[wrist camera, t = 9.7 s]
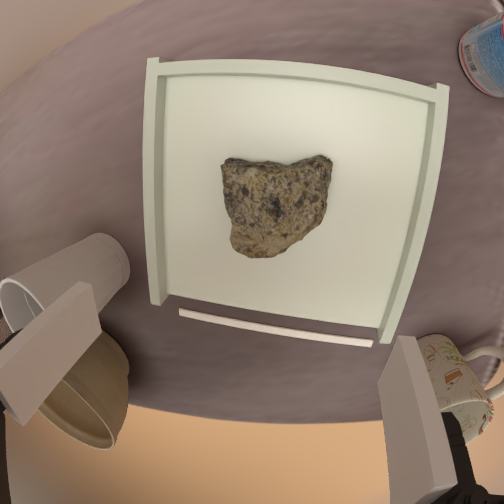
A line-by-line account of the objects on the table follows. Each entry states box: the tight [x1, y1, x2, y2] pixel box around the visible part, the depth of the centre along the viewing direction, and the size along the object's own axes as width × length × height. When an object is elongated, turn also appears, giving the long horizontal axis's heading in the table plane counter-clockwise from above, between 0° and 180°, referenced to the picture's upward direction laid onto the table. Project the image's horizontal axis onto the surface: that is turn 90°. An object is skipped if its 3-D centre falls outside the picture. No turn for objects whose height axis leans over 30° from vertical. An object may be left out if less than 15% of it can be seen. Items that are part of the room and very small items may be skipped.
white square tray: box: [143, 57, 449, 344], centre depth 23 cm, size 22×21×2 cm
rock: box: [220, 155, 333, 259], centre depth 21 cm, size 7×8×4 cm
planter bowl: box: [37, 329, 129, 450], centre depth 31 cm, size 16×16×11 cm
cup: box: [0, 233, 130, 333], centre depth 24 cm, size 8×8×12 cm
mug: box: [417, 334, 504, 445], centre depth 21 cm, size 8×13×10 cm, turn 119°
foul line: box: [179, 308, 373, 347], centre depth 29 cm, size 19×1×1 cm, turn 86°
